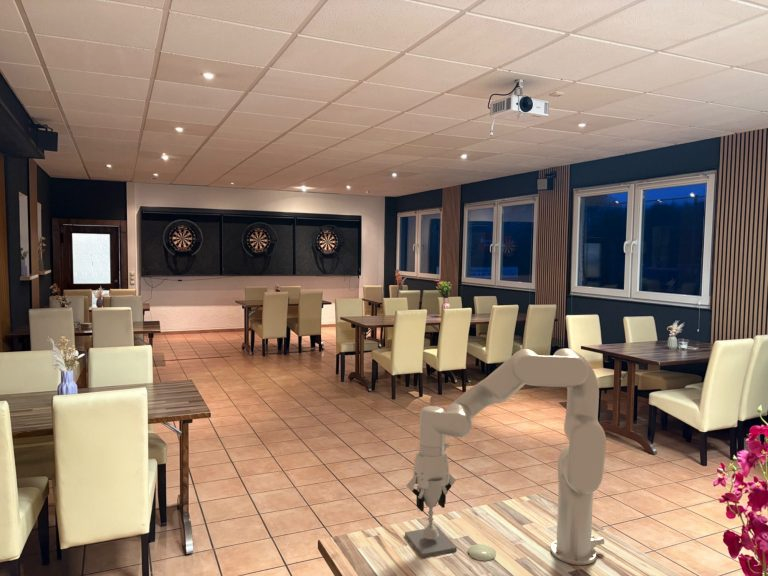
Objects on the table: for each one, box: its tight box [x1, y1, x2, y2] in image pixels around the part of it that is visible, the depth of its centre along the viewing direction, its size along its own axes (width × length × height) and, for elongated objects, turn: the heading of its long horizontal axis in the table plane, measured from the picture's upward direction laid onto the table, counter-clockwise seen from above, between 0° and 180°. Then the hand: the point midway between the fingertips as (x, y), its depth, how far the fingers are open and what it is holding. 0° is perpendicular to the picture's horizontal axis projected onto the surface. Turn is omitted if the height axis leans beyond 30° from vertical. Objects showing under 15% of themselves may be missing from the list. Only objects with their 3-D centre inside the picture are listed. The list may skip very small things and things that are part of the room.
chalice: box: [422, 479, 443, 539], centre depth 170 cm, size 7×7×18 cm
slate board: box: [404, 526, 457, 558], centre depth 170 cm, size 11×13×1 cm
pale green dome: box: [467, 543, 497, 562], centre depth 165 cm, size 8×8×1 cm
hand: (431, 507), depth 170 cm, fingers closed on chalice, 6 cm apart
